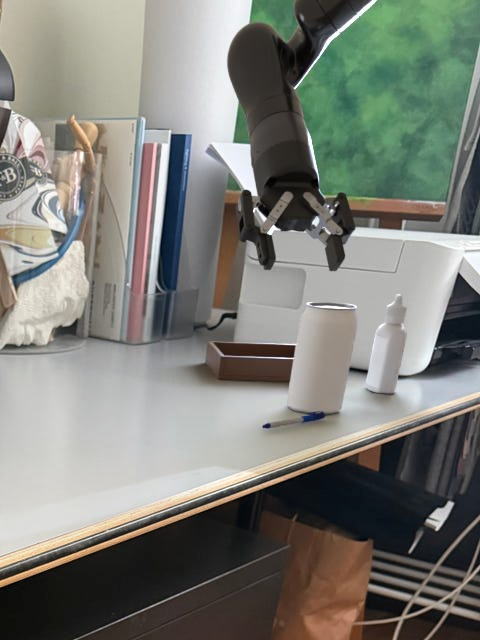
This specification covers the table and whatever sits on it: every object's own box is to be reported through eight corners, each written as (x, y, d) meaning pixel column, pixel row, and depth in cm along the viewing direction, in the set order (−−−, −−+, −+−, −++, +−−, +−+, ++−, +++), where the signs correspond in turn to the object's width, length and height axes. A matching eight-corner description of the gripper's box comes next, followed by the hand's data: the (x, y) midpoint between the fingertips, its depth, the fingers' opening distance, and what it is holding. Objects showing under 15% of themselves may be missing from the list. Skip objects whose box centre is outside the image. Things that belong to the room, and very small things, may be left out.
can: (344, 406, 115) (363, 304, 110) (337, 417, 110) (357, 310, 104) (290, 400, 117) (307, 300, 112) (281, 411, 112) (298, 306, 107)
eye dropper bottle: (357, 391, 124) (376, 295, 118) (367, 384, 128) (386, 291, 122) (391, 395, 122) (412, 298, 116) (401, 388, 126) (421, 294, 120)
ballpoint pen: (319, 417, 109) (320, 409, 109) (325, 419, 108) (327, 410, 108) (260, 429, 103) (262, 420, 103) (267, 431, 103) (268, 422, 102)
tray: (301, 366, 138) (304, 344, 137) (322, 383, 128) (326, 360, 126) (205, 362, 139) (207, 341, 137) (217, 379, 128) (220, 356, 127)
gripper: (239, 135, 115) (259, 243, 110) (348, 139, 117) (373, 245, 112) (219, 182, 122) (237, 286, 118) (323, 185, 124) (344, 287, 119)
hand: (303, 266), depth 115 cm, fingers open, 8 cm apart
